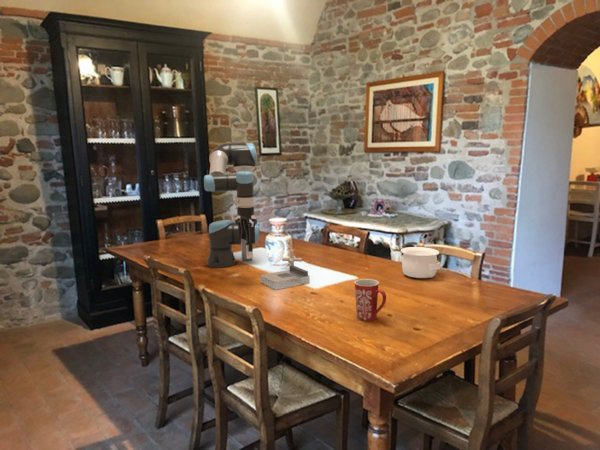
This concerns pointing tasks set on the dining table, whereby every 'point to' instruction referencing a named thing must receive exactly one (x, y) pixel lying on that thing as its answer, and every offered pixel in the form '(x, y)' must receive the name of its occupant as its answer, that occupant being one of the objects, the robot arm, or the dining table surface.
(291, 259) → the tan toy jack
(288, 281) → the block
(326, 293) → the dining table surface
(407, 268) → the pot
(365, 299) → the mug
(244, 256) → the dark steel cylinder
